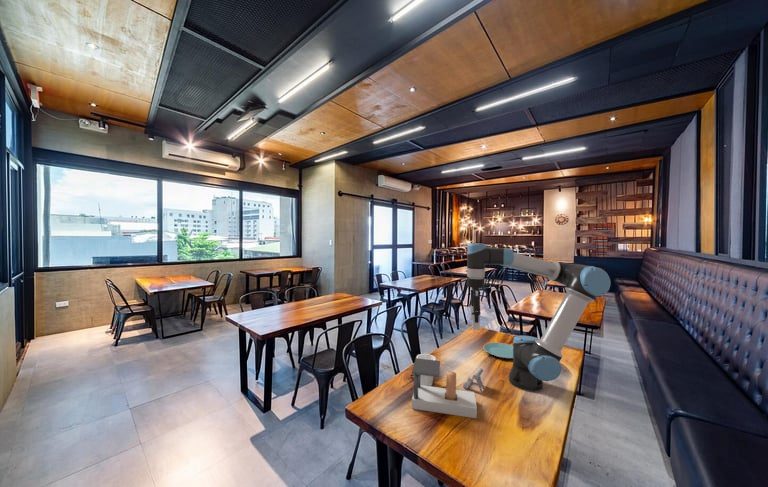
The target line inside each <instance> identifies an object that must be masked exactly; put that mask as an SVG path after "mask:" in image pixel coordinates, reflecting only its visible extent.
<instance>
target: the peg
mask: <svg viewBox="0 0 768 487" xmlns="http://www.w3.org/2000/svg"><path fill="white" fill-rule="evenodd" d="M445 379H446V384H445V385H446V386H445V387H446V399H447V400H454V401H456V390H457V373H456V372H455V371H453V370H452V371H451V370H448V371H447V372H446V377H445Z"/></svg>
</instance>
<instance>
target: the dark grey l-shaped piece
mask: <svg viewBox="0 0 768 487" xmlns="http://www.w3.org/2000/svg"><path fill="white" fill-rule="evenodd" d="M440 367H441V361H440V360H427V359H418V358H416V357H415V360H414V364H413V366H412V371H411V374H412V375H413V392H414V399H418V388H420V387H421V375H425V376H433V378H434V377H435V378H439V377H440V369H441V368H440Z"/></svg>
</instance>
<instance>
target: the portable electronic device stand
mask: <svg viewBox="0 0 768 487" xmlns="http://www.w3.org/2000/svg"><path fill="white" fill-rule="evenodd" d="M483 372H484V369H483V368H482V367H479V368H478V369H477V370H476V372H475V373H474V374H473V375H472V378H471V376H469V377H468V378H467V380H466V381H464V383H463V386H462V387H463V389H465V390H467V389H468V388H469V387H470V385H471V384H472V383H473V381H474V380H475V381H476V383H477V385H478V386H477V387H478V389H479V391H480V392H482V391H483V389H485V386H484V383H483V381H482V379H481V374H482V373H483Z"/></svg>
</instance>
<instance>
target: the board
mask: <svg viewBox="0 0 768 487" xmlns="http://www.w3.org/2000/svg"><path fill="white" fill-rule="evenodd" d="M476 399H477V398H476V394H475V392H474V391H467V390H463V389H462V390H461V389H459V390H458V389H456V401H454V400H447V399H446V388H445V387H439V386H424V385H421V387H420V388H418V399H414V391H413V392H412V397H411V409H412V410H419V411H424V412H426V411H427V412H432V413H439V414H445V415H453V416H459V417H466V418H472V419H478V418H477V417H478V416H477V415H478V407H477V400H476Z"/></svg>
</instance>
